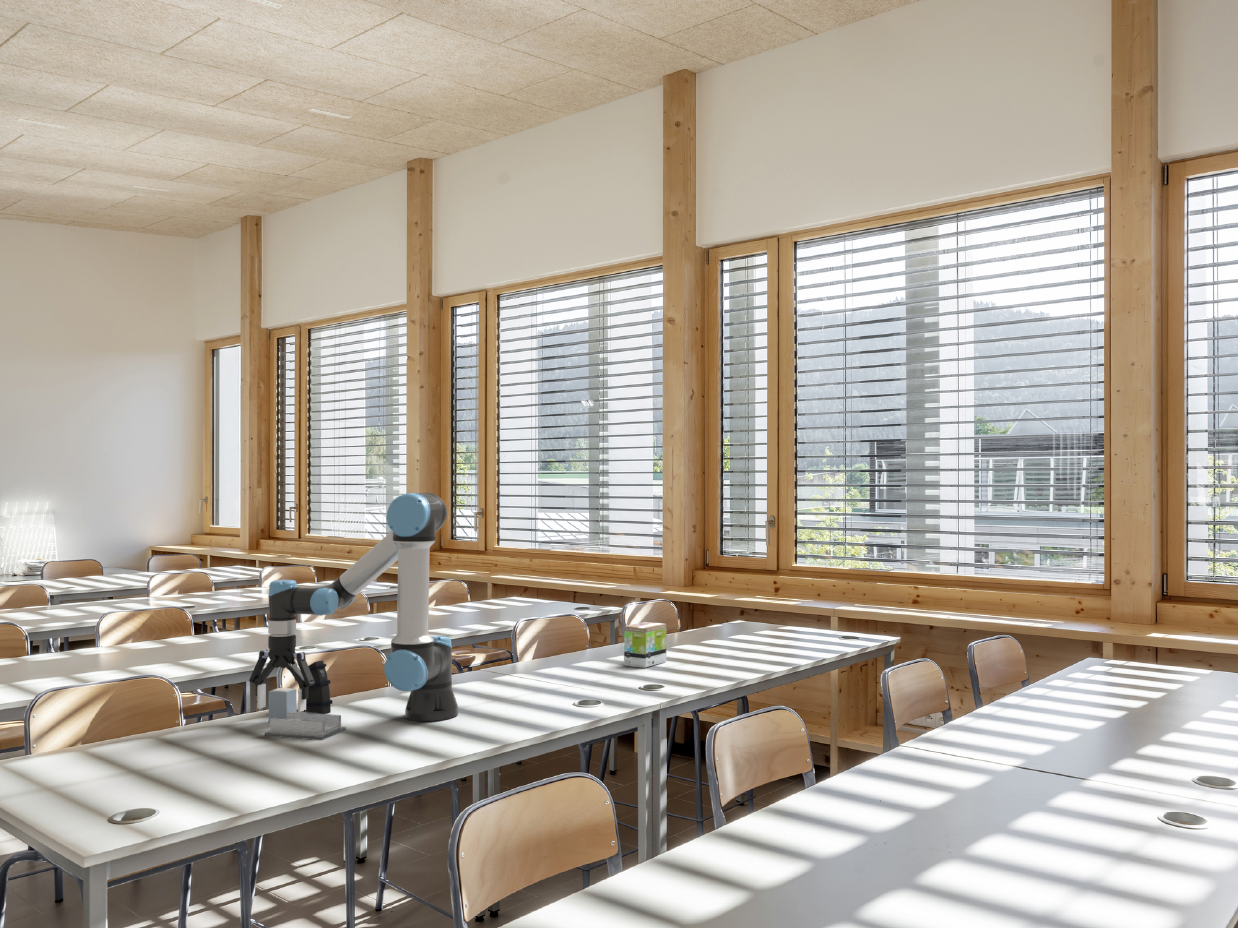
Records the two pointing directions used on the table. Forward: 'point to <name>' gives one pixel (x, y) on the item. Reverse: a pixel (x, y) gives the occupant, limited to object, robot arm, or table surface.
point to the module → (282, 702)
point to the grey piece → (306, 725)
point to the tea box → (644, 644)
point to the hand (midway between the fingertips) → (281, 709)
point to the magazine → (318, 690)
